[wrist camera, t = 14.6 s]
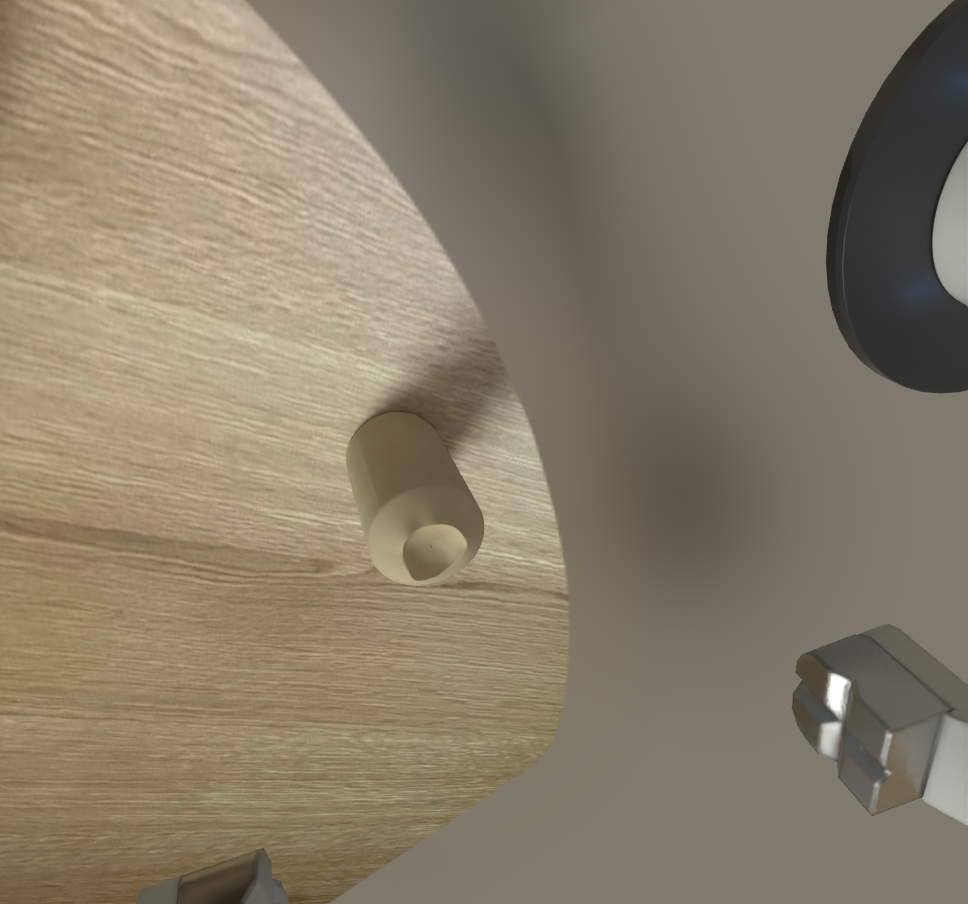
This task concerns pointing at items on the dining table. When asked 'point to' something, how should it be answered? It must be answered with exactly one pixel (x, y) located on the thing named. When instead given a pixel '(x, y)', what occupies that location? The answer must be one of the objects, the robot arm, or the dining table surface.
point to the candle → (412, 500)
